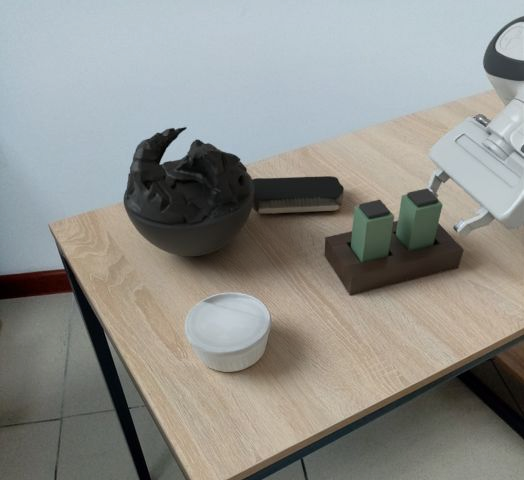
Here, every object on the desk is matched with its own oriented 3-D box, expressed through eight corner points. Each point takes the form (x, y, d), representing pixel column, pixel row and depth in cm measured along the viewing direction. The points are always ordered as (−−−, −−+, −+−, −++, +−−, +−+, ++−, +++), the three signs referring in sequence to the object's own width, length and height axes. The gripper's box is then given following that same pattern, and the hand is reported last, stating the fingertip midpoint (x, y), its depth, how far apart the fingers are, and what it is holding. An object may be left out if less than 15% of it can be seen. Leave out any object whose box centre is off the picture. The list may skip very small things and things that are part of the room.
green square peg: (373, 256, 84) (381, 196, 76) (385, 272, 81) (395, 212, 73) (349, 262, 83) (354, 202, 75) (360, 278, 80) (367, 218, 72)
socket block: (458, 268, 81) (464, 249, 78) (349, 295, 78) (351, 277, 75) (425, 231, 87) (429, 213, 85) (324, 255, 84) (325, 237, 82)
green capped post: (416, 245, 85) (428, 185, 77) (429, 260, 82) (443, 200, 74) (392, 250, 84) (402, 191, 76) (405, 266, 82) (416, 206, 74)
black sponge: (249, 219, 92) (248, 200, 89) (250, 193, 98) (249, 174, 95) (343, 215, 92) (345, 197, 89) (339, 189, 97) (340, 171, 95)
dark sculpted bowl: (128, 226, 93) (97, 119, 79) (236, 200, 97) (225, 93, 83) (151, 296, 80) (120, 184, 66) (275, 263, 84) (270, 150, 70)
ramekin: (265, 313, 76) (263, 285, 72) (279, 372, 69) (278, 344, 65) (187, 325, 75) (181, 297, 71) (193, 385, 68) (187, 358, 64)
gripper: (465, 97, 78) (396, 171, 83) (558, 160, 64) (468, 244, 70) (484, 121, 82) (417, 191, 87) (576, 186, 68) (489, 264, 74)
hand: (440, 215), depth 78 cm, fingers open, 8 cm apart
